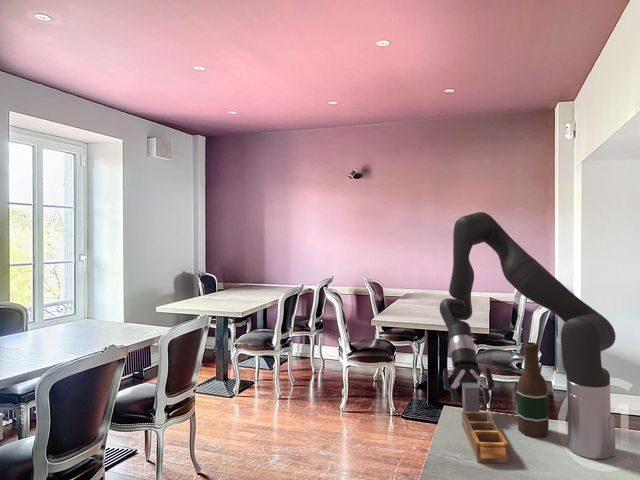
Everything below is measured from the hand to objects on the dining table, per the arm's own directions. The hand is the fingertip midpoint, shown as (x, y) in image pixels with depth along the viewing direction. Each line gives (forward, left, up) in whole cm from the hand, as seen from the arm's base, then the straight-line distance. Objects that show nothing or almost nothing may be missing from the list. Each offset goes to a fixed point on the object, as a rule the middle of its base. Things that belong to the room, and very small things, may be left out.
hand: (471, 402), depth 134 cm
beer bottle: (-15, +8, -5) cm, 17 cm away
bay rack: (0, +15, -5) cm, 15 cm away
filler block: (0, -1, -5) cm, 5 cm away
